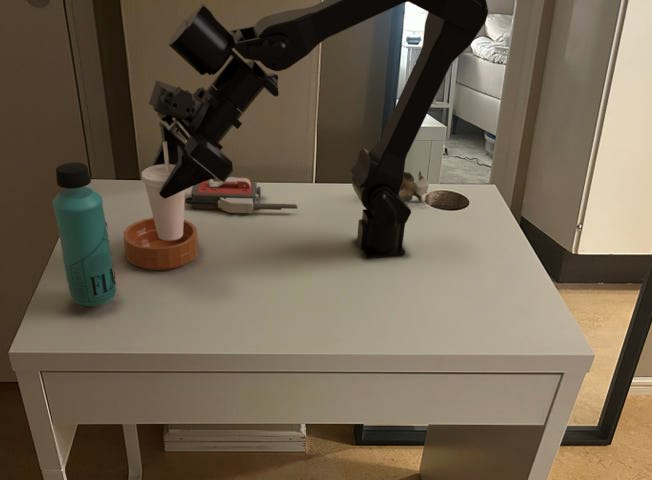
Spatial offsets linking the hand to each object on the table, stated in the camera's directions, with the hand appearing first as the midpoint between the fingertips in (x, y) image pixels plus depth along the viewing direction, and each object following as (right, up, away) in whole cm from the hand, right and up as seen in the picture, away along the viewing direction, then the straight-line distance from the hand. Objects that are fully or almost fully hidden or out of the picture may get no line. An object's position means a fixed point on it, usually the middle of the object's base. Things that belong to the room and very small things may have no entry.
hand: (155, 187), depth 99 cm
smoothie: (+1, -6, +5) cm, 8 cm away
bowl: (-1, -8, +12) cm, 14 cm away
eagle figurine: (+39, +4, +30) cm, 50 cm away
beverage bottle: (-9, -17, 0) cm, 19 cm away
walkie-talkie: (+10, +3, +28) cm, 30 cm away
